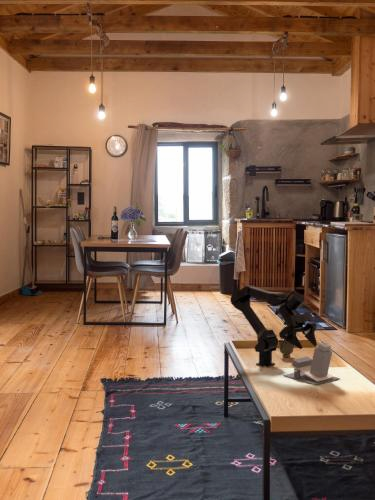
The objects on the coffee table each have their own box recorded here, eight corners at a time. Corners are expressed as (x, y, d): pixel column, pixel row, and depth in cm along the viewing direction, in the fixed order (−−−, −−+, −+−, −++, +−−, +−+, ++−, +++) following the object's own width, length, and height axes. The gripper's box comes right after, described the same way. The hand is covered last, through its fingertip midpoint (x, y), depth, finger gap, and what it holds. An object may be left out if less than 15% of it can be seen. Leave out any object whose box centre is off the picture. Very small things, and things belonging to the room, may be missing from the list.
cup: (295, 359, 252) (295, 342, 252) (279, 359, 253) (280, 342, 252) (292, 355, 260) (292, 339, 260) (277, 355, 260) (277, 339, 260)
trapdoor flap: (290, 366, 223) (292, 359, 222) (306, 362, 229) (307, 356, 228) (317, 381, 212) (318, 374, 211) (333, 377, 218) (334, 371, 217)
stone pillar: (309, 372, 218) (315, 343, 215) (317, 370, 221) (323, 341, 218) (319, 378, 214) (325, 348, 211) (327, 376, 217) (333, 346, 214)
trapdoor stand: (283, 376, 223) (283, 366, 223) (307, 370, 232) (307, 361, 232) (316, 385, 209) (316, 375, 209) (339, 379, 218) (339, 369, 218)
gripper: (284, 307, 219) (305, 338, 211) (314, 303, 230) (334, 333, 222) (270, 323, 226) (289, 354, 217) (299, 319, 237) (319, 348, 229)
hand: (309, 347), depth 221 cm, fingers open, 9 cm apart
